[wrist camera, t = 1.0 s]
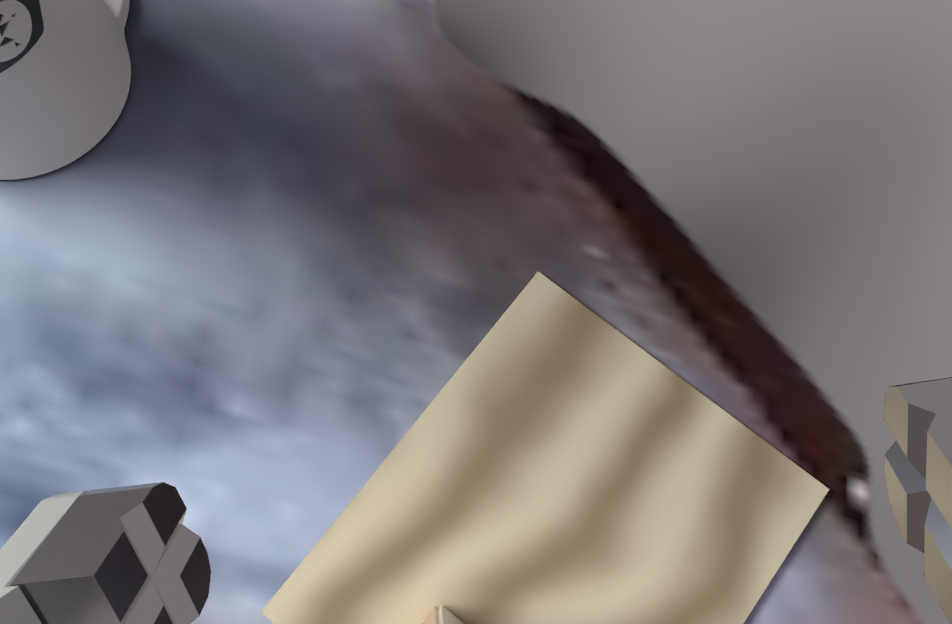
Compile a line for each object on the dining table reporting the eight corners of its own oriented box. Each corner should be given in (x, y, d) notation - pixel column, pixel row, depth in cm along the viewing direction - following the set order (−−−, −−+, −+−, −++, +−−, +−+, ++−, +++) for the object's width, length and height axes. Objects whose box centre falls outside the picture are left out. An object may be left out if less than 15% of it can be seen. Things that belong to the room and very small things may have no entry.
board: (263, 611, 47) (260, 612, 47) (537, 274, 54) (538, 271, 53) (573, 881, 44) (575, 886, 44) (824, 490, 51) (829, 489, 50)
